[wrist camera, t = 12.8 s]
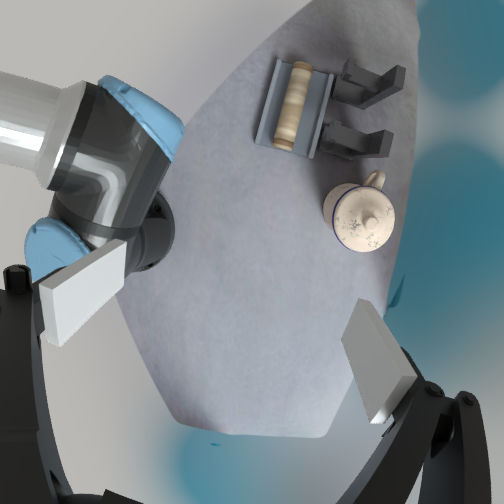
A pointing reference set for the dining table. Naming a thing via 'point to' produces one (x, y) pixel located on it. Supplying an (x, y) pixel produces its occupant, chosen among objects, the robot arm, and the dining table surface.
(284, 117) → the wooden cylinder
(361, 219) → the teacup with lid
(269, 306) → the dining table surface
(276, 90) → the tray
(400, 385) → the robot arm
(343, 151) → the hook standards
